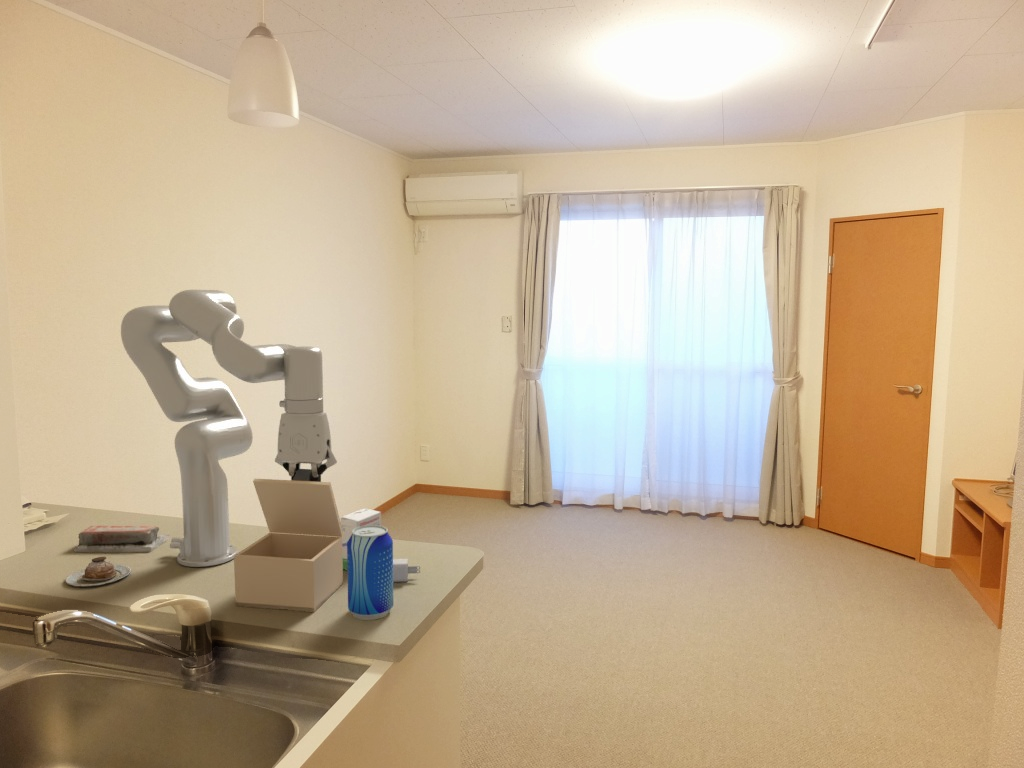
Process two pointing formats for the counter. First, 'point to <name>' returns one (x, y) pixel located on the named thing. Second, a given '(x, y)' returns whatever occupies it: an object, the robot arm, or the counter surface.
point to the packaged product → (120, 539)
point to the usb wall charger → (402, 570)
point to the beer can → (370, 572)
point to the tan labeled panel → (299, 505)
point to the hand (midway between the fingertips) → (306, 493)
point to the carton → (288, 572)
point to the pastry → (98, 573)
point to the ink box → (353, 522)
